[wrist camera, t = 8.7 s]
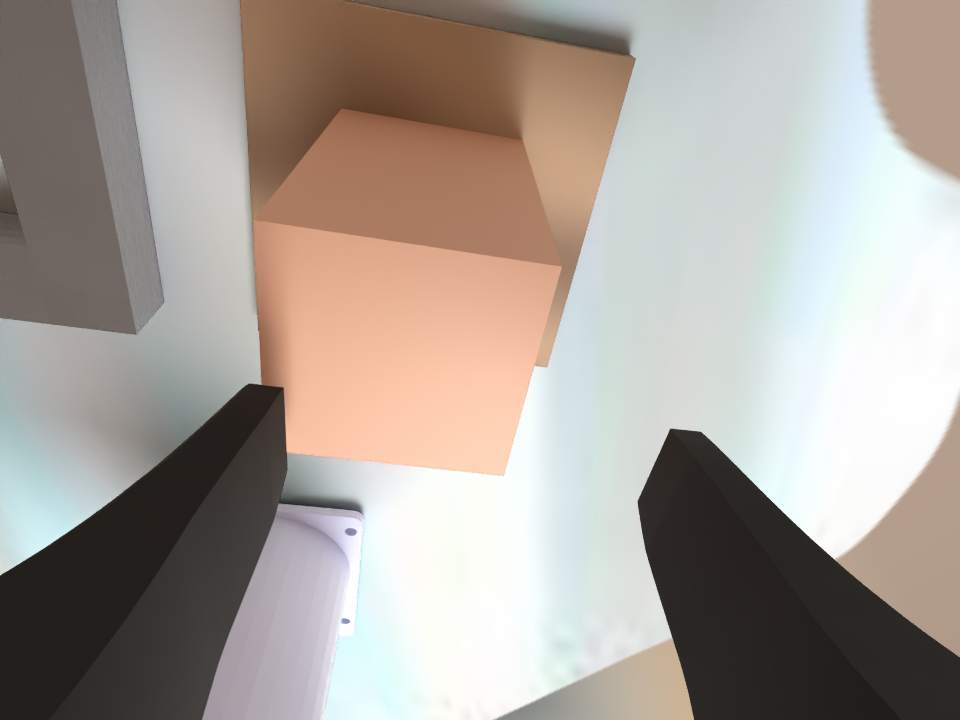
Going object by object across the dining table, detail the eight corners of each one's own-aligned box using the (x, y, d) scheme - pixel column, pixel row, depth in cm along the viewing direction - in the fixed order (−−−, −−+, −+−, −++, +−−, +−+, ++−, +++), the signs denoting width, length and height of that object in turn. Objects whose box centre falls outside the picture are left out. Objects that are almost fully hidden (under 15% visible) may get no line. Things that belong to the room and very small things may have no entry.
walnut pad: (545, 357, 21) (547, 367, 21) (263, 321, 20) (258, 330, 20) (630, 55, 16) (635, 58, 15) (246, -18, 15) (239, -18, 14)
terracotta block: (490, 296, 19) (503, 475, 13) (335, 273, 19) (264, 450, 12) (522, 140, 16) (561, 266, 10) (341, 108, 16) (254, 220, 9)
